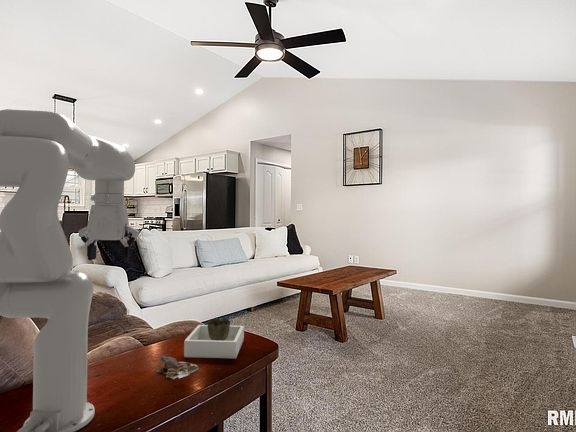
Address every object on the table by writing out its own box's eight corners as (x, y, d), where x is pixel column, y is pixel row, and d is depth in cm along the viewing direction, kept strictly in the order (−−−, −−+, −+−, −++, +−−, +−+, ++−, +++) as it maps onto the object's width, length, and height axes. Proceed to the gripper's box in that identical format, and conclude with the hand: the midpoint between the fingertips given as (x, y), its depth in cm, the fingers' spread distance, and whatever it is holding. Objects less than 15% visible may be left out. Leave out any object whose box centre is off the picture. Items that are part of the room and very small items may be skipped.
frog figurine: (142, 375, 98) (142, 361, 98) (174, 360, 108) (174, 347, 108) (173, 385, 92) (173, 370, 92) (204, 368, 103) (204, 354, 103)
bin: (236, 358, 109) (236, 342, 109) (184, 357, 109) (184, 340, 109) (243, 340, 125) (244, 325, 125) (198, 339, 125) (198, 324, 125)
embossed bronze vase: (232, 341, 121) (232, 318, 120) (226, 349, 113) (227, 324, 113) (210, 340, 121) (211, 317, 121) (203, 348, 114) (204, 323, 114)
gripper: (71, 199, 99) (70, 261, 99) (133, 200, 99) (132, 262, 99) (87, 200, 107) (86, 257, 107) (144, 201, 106) (144, 258, 106)
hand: (108, 259), depth 103 cm, fingers open, 9 cm apart
